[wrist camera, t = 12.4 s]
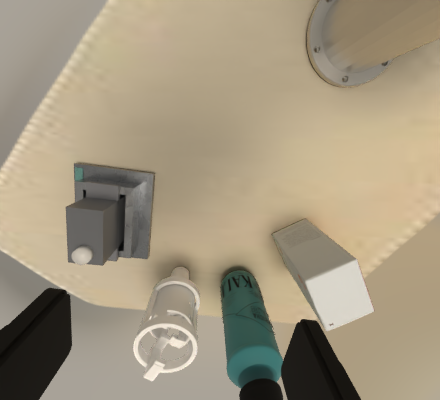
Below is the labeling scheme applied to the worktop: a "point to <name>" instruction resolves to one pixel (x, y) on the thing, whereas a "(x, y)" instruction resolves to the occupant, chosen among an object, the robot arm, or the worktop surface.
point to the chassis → (135, 202)
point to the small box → (324, 274)
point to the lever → (96, 225)
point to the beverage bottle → (249, 339)
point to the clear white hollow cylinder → (169, 323)
